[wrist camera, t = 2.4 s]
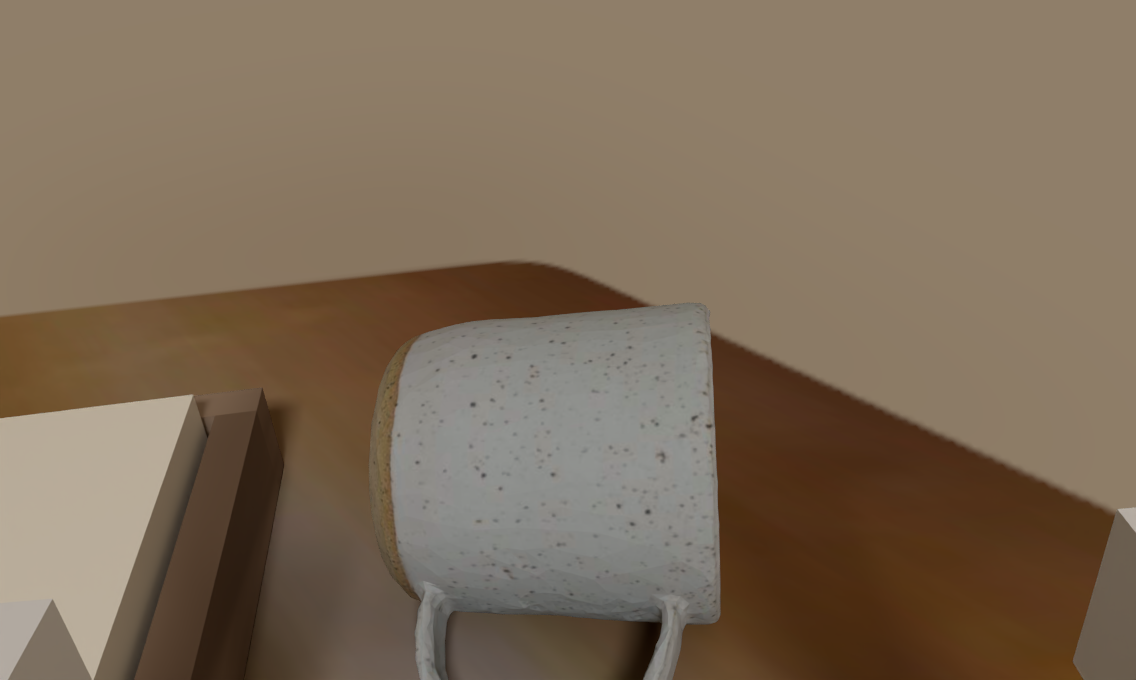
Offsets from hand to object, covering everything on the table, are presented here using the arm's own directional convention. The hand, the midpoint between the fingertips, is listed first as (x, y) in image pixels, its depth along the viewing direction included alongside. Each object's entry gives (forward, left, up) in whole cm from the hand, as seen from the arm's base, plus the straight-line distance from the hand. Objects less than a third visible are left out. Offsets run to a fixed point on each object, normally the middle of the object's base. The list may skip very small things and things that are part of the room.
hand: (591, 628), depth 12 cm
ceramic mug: (-4, +8, -10) cm, 13 cm away
